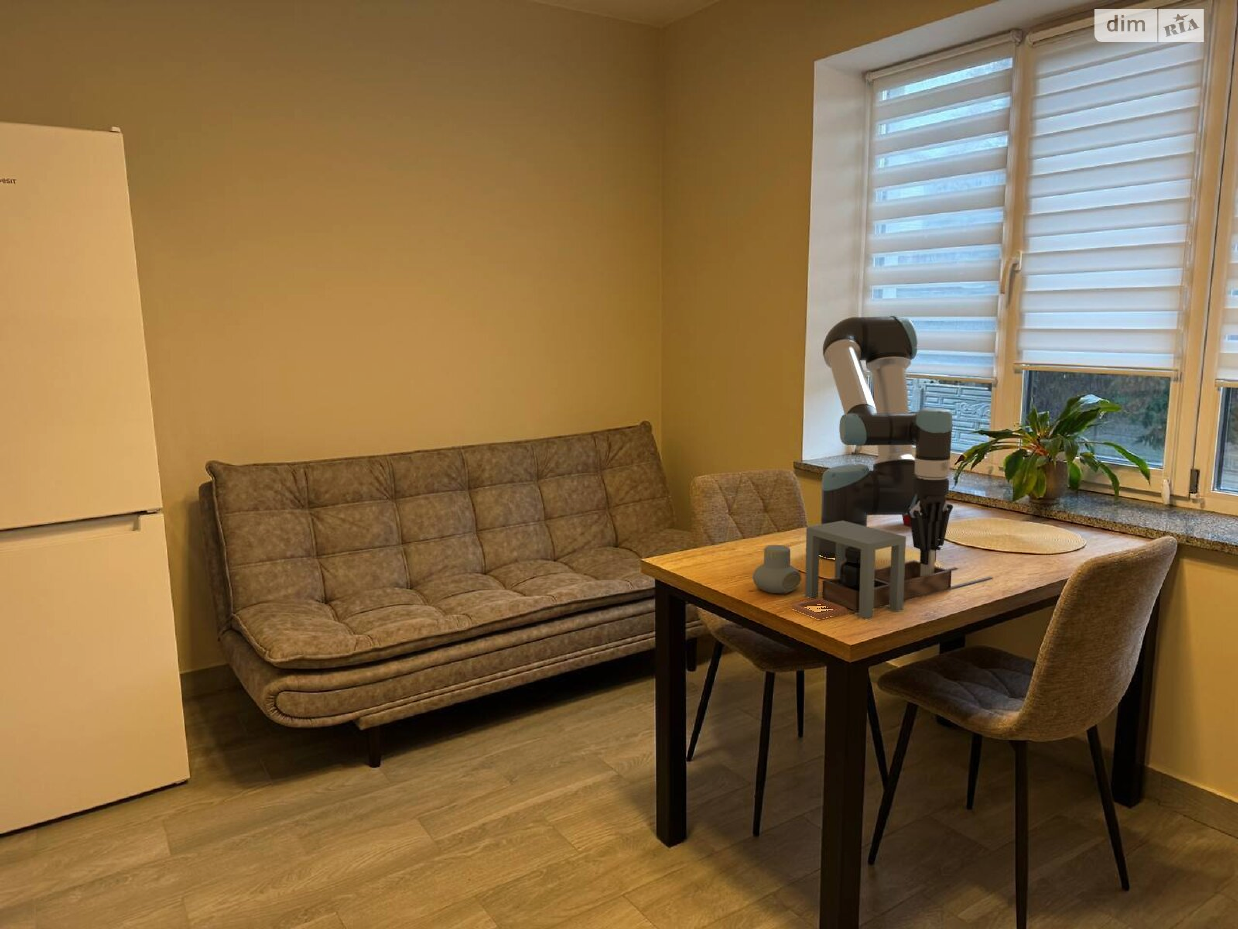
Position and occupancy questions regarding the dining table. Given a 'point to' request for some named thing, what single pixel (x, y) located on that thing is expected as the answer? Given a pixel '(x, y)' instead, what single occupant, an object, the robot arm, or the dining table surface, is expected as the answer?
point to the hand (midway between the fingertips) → (927, 576)
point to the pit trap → (819, 615)
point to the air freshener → (776, 571)
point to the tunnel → (862, 562)
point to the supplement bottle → (850, 569)
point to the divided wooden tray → (882, 585)
